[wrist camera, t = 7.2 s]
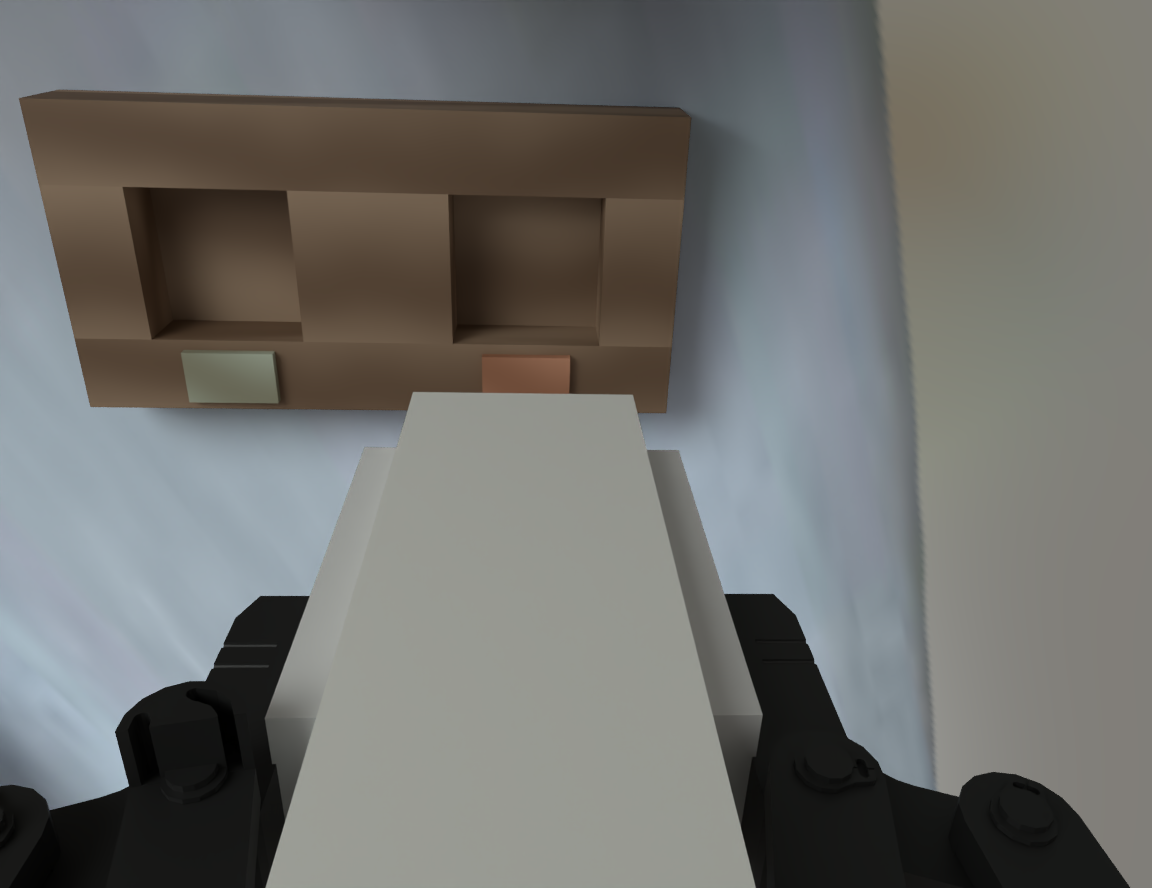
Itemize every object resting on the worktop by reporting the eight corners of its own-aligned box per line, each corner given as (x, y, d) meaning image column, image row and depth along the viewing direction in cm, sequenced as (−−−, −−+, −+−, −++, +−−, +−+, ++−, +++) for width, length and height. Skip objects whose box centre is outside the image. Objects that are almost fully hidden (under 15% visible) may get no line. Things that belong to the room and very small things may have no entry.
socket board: (58, 89, 29) (13, 99, 26) (679, 107, 30) (692, 118, 27) (120, 379, 33) (86, 410, 31) (657, 385, 34) (667, 416, 32)
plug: (413, 392, 16) (147, 1283, 5) (632, 394, 17) (847, 1255, 5) (422, 574, 18) (241, 1533, 7) (620, 575, 18) (762, 1504, 7)
